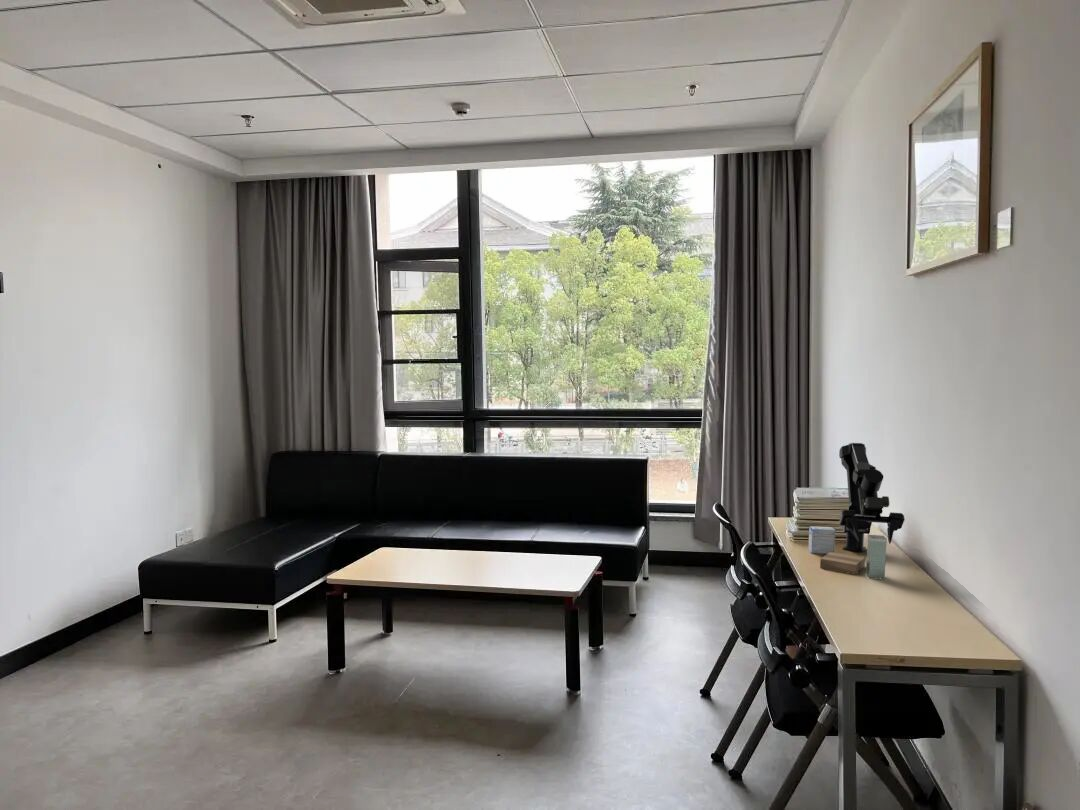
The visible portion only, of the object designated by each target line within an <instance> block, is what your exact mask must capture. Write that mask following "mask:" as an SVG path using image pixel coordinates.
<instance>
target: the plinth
mask: <svg viewBox="0 0 1080 810" xmlns="http://www.w3.org/2000/svg"><path fill="white" fill-rule="evenodd" d="M819 561H820V564H819V568H820V569H825V570H829V569H830V571H835V570H836V572H840V571H843V572H842V573H845V572H849V573H848V574H851V573H854V574H853V575H857V574H858V573H859V572H860V571H861V570H863V568H865V567H864V566H866V563H865V562H866V557H863V556H859V555H858V556H857V555H851V554H846V553H839V552H835V551H834V552H829V553H828V554H825V555H824V556H823V557H821V558H820V560H819ZM859 570H860V571H859ZM858 571H859V572H858ZM857 572H858V573H857ZM856 573H857V574H856Z"/></svg>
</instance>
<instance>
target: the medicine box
mask: <svg viewBox="0 0 1080 810" xmlns="http://www.w3.org/2000/svg"><path fill="white" fill-rule="evenodd" d="M835 543H836V529H834V528H833V527H832V526H814V525H813V526H811V525H810V526H809V529H808V547H807V548H808V551H809V552H810V553H811V554H821V555H822V554H825V555H827V554H828V553H829V552H835V546H836V544H835Z"/></svg>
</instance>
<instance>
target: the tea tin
mask: <svg viewBox="0 0 1080 810" xmlns="http://www.w3.org/2000/svg"><path fill="white" fill-rule="evenodd" d="M887 542H888V538H886V537H885V536H884V535H882V534H881V535H880V534H879V535H877V534H867V547H866V549H867V551H866V563H865V566H866V567H865V575H866V574H867V575H866V576H867V578H868V577H869V578H868V579H871V578H881V579H880V580H885V579H886V577H885V576H886V561H887V559H886V558H887V556H886V555H887Z"/></svg>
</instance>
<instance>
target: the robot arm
mask: <svg viewBox="0 0 1080 810" xmlns="http://www.w3.org/2000/svg"><path fill="white" fill-rule="evenodd" d="M838 451H839V454H838V455H839V459H841V460H840V461H841V465H842V467H843V468H845V470H846V478H847V492H848V504H849V505H848V507H847V509H843V510H841V513H840V515H839V525H840V526H841V531H842V532H843V533H844V534H846V537H845V539H846V540H845V546H843V547H842V549H843V550H848V551H853V552H859V553H862V552H863V551H865V550H866V549H867V547H866V546H864V539H865V535H866V534H867V535H870V534H871V527H872V523H880V524H887V528H886V530H887V542H888V544H891V543H892V539H893V537H894V532H896V531H898V530H901V529H902V527H903V525H904V523H905V515H904V514H903V513H902V512H891V511H890V512H889V514H888V516H882V515H881V514H883V509H884V508H889V506H890V498H889V496H887V495H885V496H882V497H878V496H879V495H878V492H879V491H880V489H881V486H882V484H883V483H882V482H883V480H884V474H883V473H882V472H881V471H880V470H879V469H877V468H876V466H874V465H872V464H870V462H869V458H868V456H867V447H866V445H865V443H862V442H859V443H858V442H850V443H848V444H847V445H846V444H845V445H842V446H841V447H840V449H839V450H838Z"/></svg>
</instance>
